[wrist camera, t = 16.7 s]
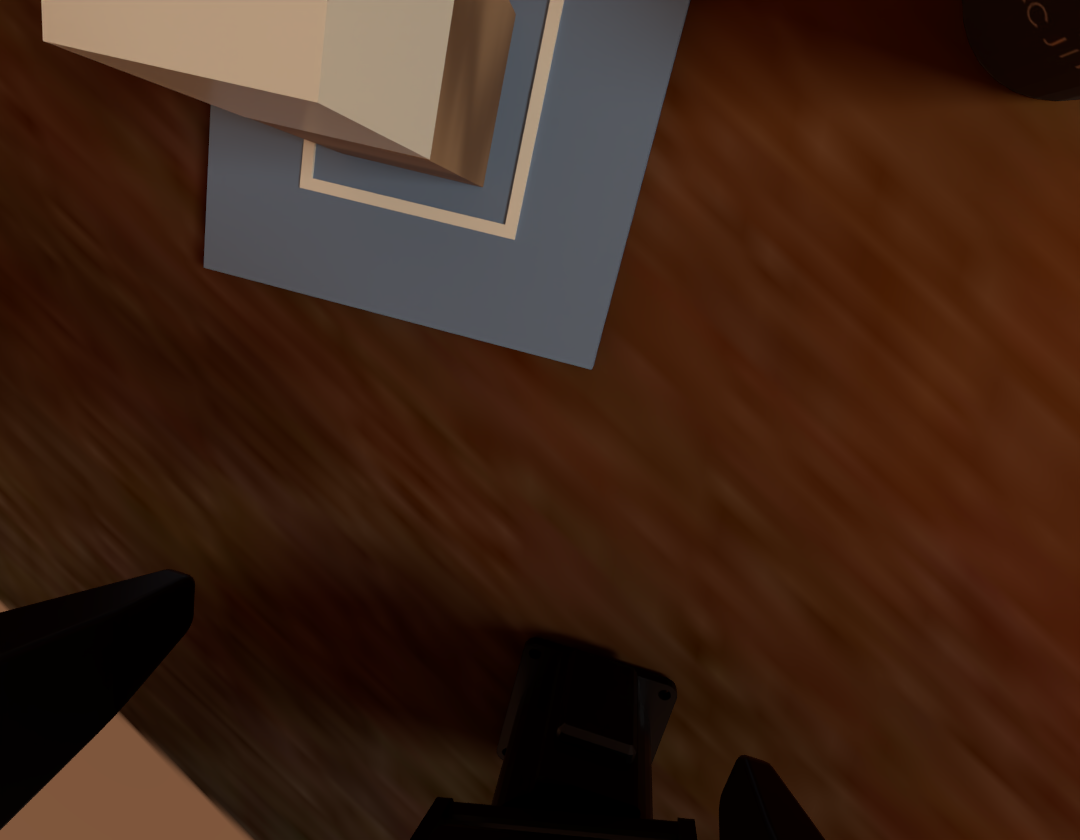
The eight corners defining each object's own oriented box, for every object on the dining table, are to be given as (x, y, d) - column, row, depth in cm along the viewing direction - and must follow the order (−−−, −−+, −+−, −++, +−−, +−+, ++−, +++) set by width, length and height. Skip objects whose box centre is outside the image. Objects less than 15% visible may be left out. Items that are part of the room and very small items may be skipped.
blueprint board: (593, 365, 20) (591, 370, 19) (218, 267, 22) (201, 267, 21) (728, -144, 16) (733, -168, 15) (244, -225, 17) (223, -252, 16)
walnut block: (483, 187, 18) (429, 160, 14) (342, 153, 19) (243, 115, 14) (515, 14, 17) (467, -85, 12) (363, -18, 17) (259, -125, 13)
